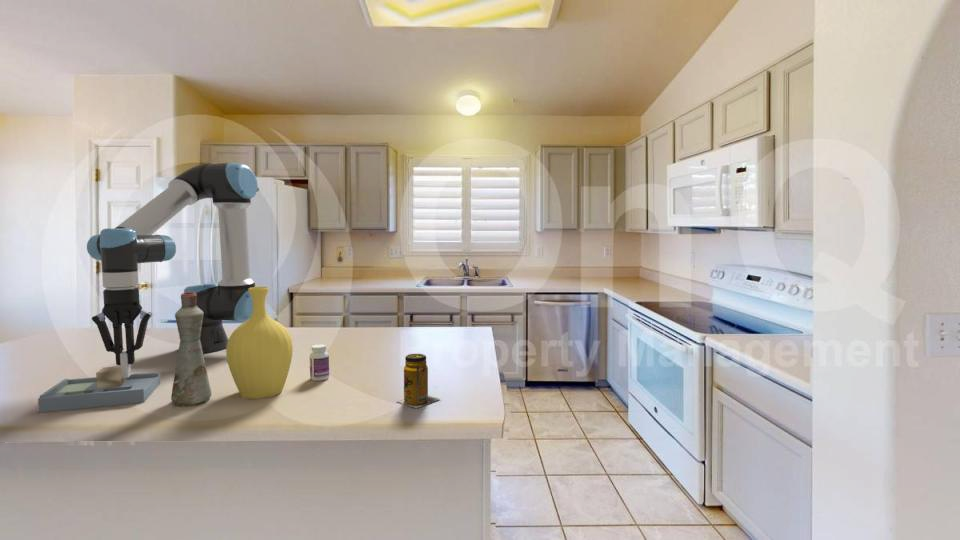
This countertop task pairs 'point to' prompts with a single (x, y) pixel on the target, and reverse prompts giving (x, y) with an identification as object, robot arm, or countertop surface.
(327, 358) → the pill bottle
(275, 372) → the vase
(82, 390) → the blue gray tray
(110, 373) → the block
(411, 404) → the condiment
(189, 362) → the bottle
